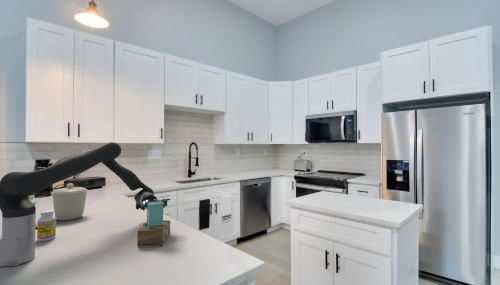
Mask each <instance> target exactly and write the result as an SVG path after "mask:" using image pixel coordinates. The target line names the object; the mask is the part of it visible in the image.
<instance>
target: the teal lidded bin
mask: <svg viewBox="0 0 500 285" xmlns="http://www.w3.org/2000/svg"><path fill="white" fill-rule="evenodd" d="M161 201H162V200H161ZM161 201H158V202H148V203H147V209H146V223H147V226H148V227H149V228H153V227H159V226H163V221H164V208H163V205H164V204H163V203H162V202H161Z"/></svg>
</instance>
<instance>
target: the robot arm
mask: <svg viewBox="0 0 500 285" xmlns="http://www.w3.org/2000/svg"><path fill="white" fill-rule="evenodd" d="M121 154H122V148H121V146H120V144H118V143H116V142H112V141H109V142H106V143H104V144H102V145H101V146H98V147H95V148H92V149H89V150H85V151H81V152H77V153H74V154H70V155H68V156H64V157H62V158H60V159H58V160H57V161H56V162H54V163H53V164H52V165H50V166H48V167H46V168H45V167H44V168H40V169H37V170H33V171H11V172H8V173H6V174H5V175H3V177H1V179H0V211H1V217H2V218H1V239H0V267H16V266H19V265H21V264H22V265H23V264H25V263H28V262H30V261H33V260H34V259H35V258H36V256H35V255H36V228H35V220H36V217H37V216H36V215H37V212H36V211H37V210H36V209H37V206H36V204H35V205H34V204H32V203H31V202H30V199H29V198H28V197H29V196H31V195H34V196H35V195H36V194H38V193H39V192H41V191H43V190H45V189H47V188H49V187H51V186H53V185H54V184H57V183H59V182H62V181H65V180H68V179H69V178H72V177H75V176H77V175H79V174H81V173H84V172H86V171H88V170H90V169H92V168H93V167H95V166H97V165H99V164H100V163H101V164H102V165H103V166H105V167H106V168H108V169H109V170H110V171H112V173H113V174H115V175H116V176H117V177H118V178H120V180H121V181H122V182H123V183H124V184H125V185H126V187H128V189H129V190H130V191H132V192H134V191H137V190H138V189H141V190H139V191H138V192H137V193H136V194H135V195H134V197H133V199H134V201H135V210H142V211H145V210H147V203H148V202H158V201H161V202H162V203H163V204H164V205H163V209H165V208H166V207H167V206H168V200H167V199H165V198H163V199H158V198H157V196H155V192H154V190H153V189H152V188H151V187H149V186H148V185H146V184H145V183H144V182H142V180H141V179H140V178H139V177H138V176H137V175H136V173H135V172H133V171H132V170H130V169H129V168H127V167H125V166H123V165H121V164H120V163H118V162H117V160H116V159H117V158H119V156H120V155H121Z"/></svg>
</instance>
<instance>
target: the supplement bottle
mask: <svg viewBox="0 0 500 285" xmlns="http://www.w3.org/2000/svg"><path fill="white" fill-rule="evenodd" d="M38 218H39V219H38V225H37V232H36V234H37V235H36V240H37V241H38V242H46V241H50V240H53V239H54V238H56V231H57V230H56V228H57V226H56V225H57V219H56V217H55V212H54V209H48V210H46V209H45V210H42V211H40V217H38Z"/></svg>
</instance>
